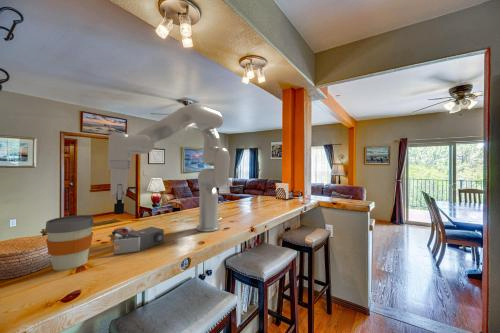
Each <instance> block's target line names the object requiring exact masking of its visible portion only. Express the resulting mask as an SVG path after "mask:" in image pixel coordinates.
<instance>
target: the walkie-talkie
mask: <svg viewBox="0 0 500 333" xmlns="http://www.w3.org/2000/svg"><path fill="white" fill-rule="evenodd" d="M134 231H136V230H135V229H133V228H132V227H130V226H122V227H119V228H115V229H113V231H111V234H112V235H113V237H114V240H120V239H128V233H131V232H134Z"/></svg>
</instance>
